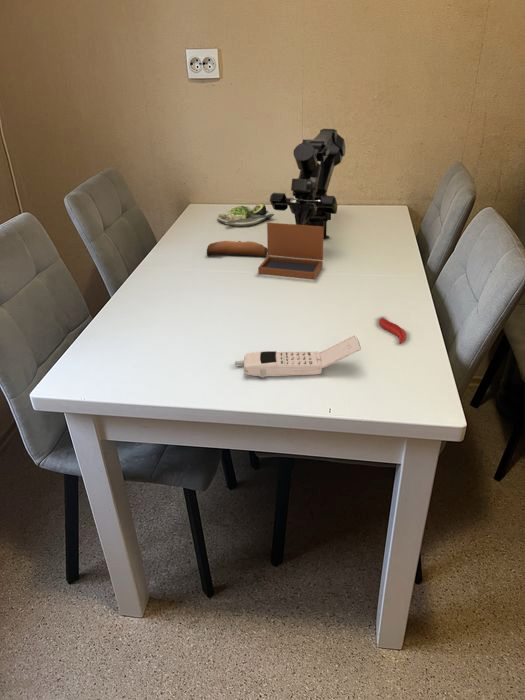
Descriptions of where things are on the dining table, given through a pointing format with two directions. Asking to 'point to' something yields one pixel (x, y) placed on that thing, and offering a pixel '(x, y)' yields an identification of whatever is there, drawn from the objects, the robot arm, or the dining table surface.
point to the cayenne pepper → (393, 329)
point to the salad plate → (245, 215)
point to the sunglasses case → (236, 248)
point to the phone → (291, 266)
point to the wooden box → (290, 273)
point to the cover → (295, 240)
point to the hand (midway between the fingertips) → (298, 230)
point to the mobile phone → (296, 360)
